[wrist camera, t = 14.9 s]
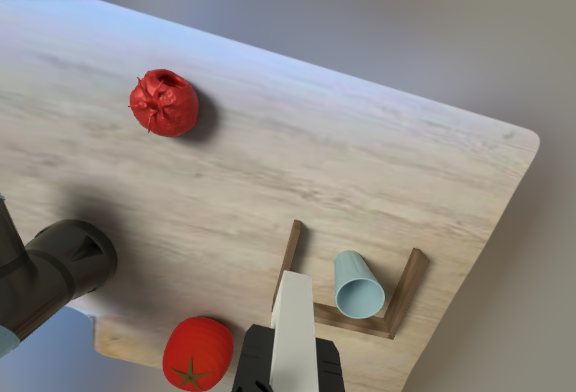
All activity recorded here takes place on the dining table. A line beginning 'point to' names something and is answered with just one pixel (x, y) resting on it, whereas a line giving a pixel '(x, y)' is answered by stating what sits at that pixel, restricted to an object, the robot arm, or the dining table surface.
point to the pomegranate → (165, 103)
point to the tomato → (197, 354)
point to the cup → (356, 287)
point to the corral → (371, 324)
